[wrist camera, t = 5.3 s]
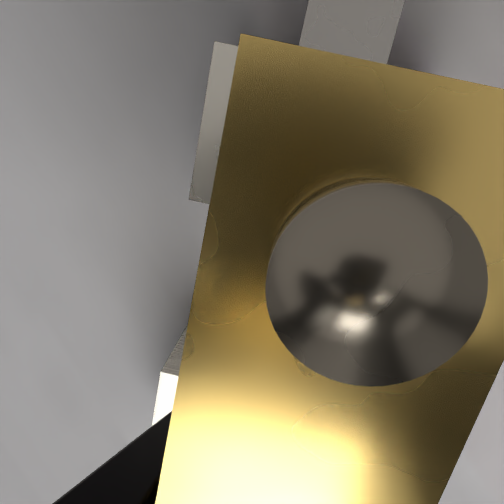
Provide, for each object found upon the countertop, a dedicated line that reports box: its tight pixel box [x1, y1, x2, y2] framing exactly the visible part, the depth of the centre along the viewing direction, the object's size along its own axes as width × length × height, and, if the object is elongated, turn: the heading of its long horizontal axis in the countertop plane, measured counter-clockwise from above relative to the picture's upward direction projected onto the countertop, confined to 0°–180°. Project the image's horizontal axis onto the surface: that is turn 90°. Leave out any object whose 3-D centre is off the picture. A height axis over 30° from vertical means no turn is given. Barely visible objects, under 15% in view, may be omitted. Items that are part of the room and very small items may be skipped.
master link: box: [155, 34, 504, 504], centre depth 7 cm, size 4×14×5 cm, turn 168°
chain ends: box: [152, 0, 405, 426], centre depth 17 cm, size 8×23×4 cm, turn 168°
